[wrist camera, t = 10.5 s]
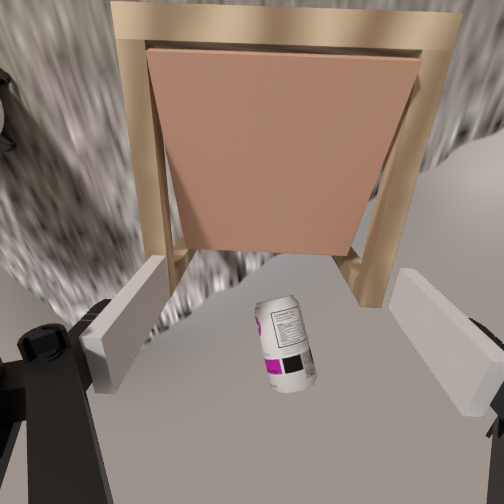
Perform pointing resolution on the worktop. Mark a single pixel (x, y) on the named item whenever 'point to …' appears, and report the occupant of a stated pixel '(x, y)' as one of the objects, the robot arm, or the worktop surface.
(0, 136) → the coffee press
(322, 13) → the trapdoor frame
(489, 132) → the worktop surface
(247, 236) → the trapdoor
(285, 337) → the supplement can
